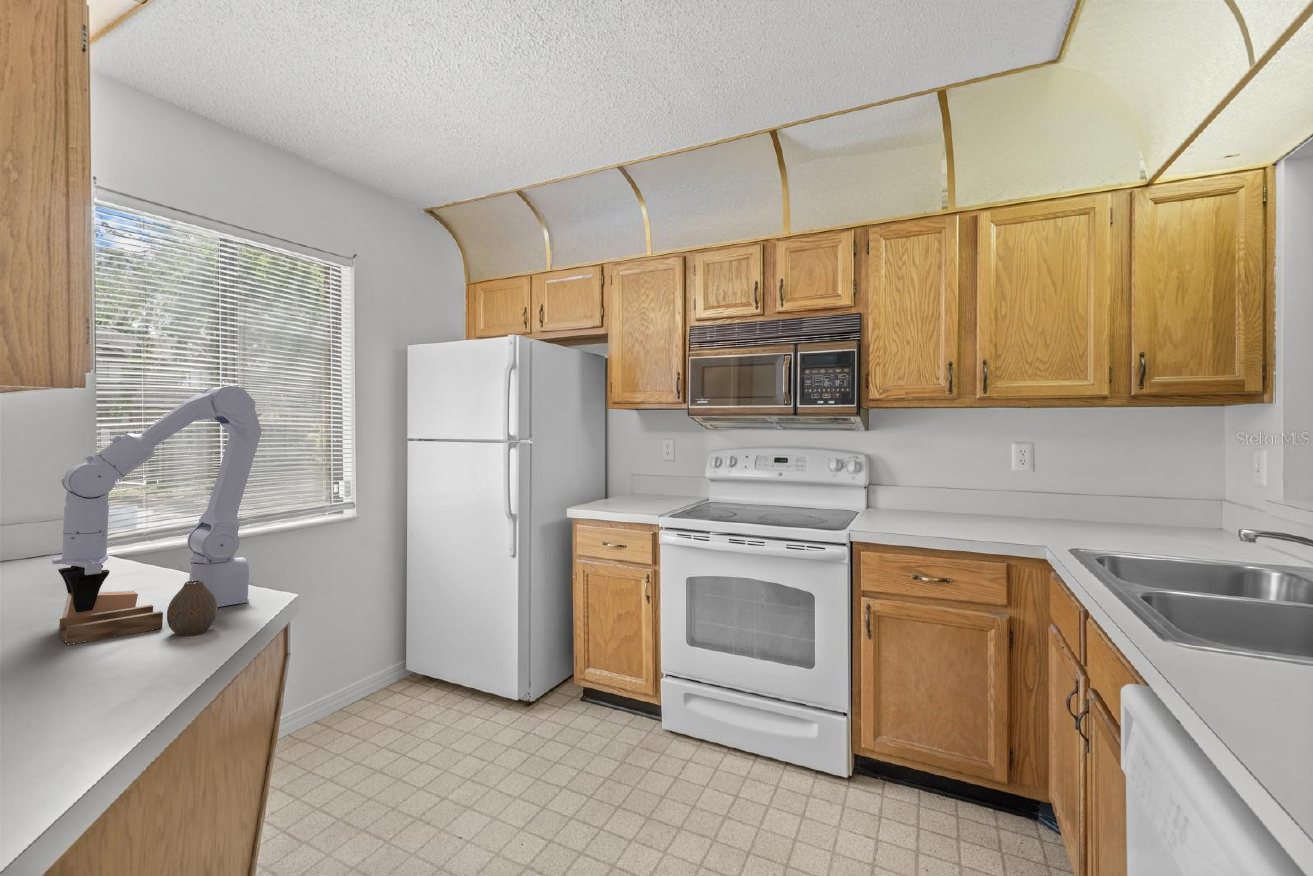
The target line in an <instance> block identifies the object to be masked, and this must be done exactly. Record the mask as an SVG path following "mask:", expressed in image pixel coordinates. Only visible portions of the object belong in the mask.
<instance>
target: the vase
mask: <svg viewBox="0 0 1313 876" xmlns="http://www.w3.org/2000/svg"><path fill="white" fill-rule="evenodd" d="M166 611H167V612H166V621H167V624H168V627H169V629H170V630H171V631H172V632H173V633H174V634H176V635H178V636H193V635H199V634H203V633H204V632H206V631H208V629H209V628H211V626H212V625H213V623H214V621H215V620H216V617H217V614H218V613H217V612H218V607H217V602H216V599H215V597H214V595H213V594H212V593H211V592H210V591H209V590H208V589H207V588H206V587H205V585H204V583H203V581H201V580H192V581H189V580H188V581H185V582H184V584H183V585H182V587H181V589H180V590H179V591H178V592H177V593H176V594H175V595H174V596H173V597H172V599H171V600H170V602H169V605H168V606H167V610H166Z"/></svg>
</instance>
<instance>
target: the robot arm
mask: <svg viewBox="0 0 1313 876" xmlns="http://www.w3.org/2000/svg"><path fill="white" fill-rule="evenodd" d="M208 419H213V420H215V421H216V422H218V423H219V424H220V425H221V426H222V428H223V429H224V430H225V431H226V433H227V434H228V435H229V436H228V440H227V443H226V445H225V446H226V447H225V449H224V453H223V455H222V456H223V457H222V459H221V462H220V466H219V469H218V472H217V476H216V479H215V482H214V486H213V488H212V492H211V495H210V497H209V501H208V504H207V509H206V510H205V512H203V513H202V515H201V516H200V517H199V520H198V523H197V524H196V526H195V528H194V529H193V530H191V532H190V533H189V535H188V537H187V547H188V549H189V550H190V551H191V552H192V553H193V554H192V556H191V558H189V559H190V560H189V579H188V581H192V580H201V581H203V583H204V585H205V587H206V588H207V589H208V590H209V591H210V592H211V593H212V594H213V595H214V597H215V599H216V602H217V608H221V607H227V606H233V605H239V604H243V603H244V604H245V603H249V602H250V599H248V598H249V578H250V570H249V569H250V568H249V563H248V560H247V559H246V557H244V556H243V557H241V556H240V557H235V554H236V553H237V552H238V550H239V548H240V543H241V542H240V539H239V538H240V537H239V528H240V521H239V516H238V513H239V509H240V505H241V503H242V500H243V496H244V493H245V489H246V486H247V482H248V479H249V475H250V472H251V470H252V465H253V463H254V458H255V456H256V453H257V449H258V445H259V441H260V438H261V435H262V428H261V424H260V420H259V417H258V414H257V411H256V401H255V400H254V399H253V398H252V397H251V395H250V394H249V393H248V392H247V390H246V389H244V388H242V387H240V386H237V385H227V386H226V385H224V386H221V387H220V386H211V387H208V388H206V389H204V390H203V391H202V392H201V393H197V394H195V395H192V396H191V397H190V398H187V400H185V401H183V402H182V403H180V404H179V405H178V406H176V407H175V408H173V409H172V410H170V411H169V412H168V413H167V414H165V415H164V416H162V417H161V418H160V419H158V420H156V422H154V423H152V425H150V426H149V427H147V428H146V429H145V430H143V431H142V432H140V433H125V434H123V435H122V436H120V435H115V436H113V438H111V439H110V441H111V442H112V443H110V444H109V445H107V446H106V447H103V448H102V449H101V450H99V451H98V452H96V453H95V454H93V455H92V454H87V455H86V456H85V457H84V460H85V461H86V462H87V463H79V464H76V465H74V466H71V468H69V469H67V471H66V472H65V475H64V476H63V478H61V485H62V487H63V489H65V491H66V495H65V506H64V509H63V527H62V528H63V531H62V547H61V548H62V549H61V557H57V558H56V557H55V558H52V559H51V564H53V565H67V566H70V567H61V568H58V569H57V571H58V573H59V574H60V576H61V577H62V579H63V581H64V584H65V586H66V590H67V592H66V593H67V594H68V593H72V596H73V603H74V608H75V611H76V612H84V611H91V610H93V608H94V605H95V602H96V599H97V596H98V593H99V592H100V590H101V588H102V585H103V583H104V582H105V580H106V579H107V578H108V576H109V574H110V570H109V569H103V568H104V565H103V563H105V562H106V561H108V559H109V555H108V554H107V553H108V535H109V516H110V515H109V513H110V510H109V509H110V505H109V496H110V495H109V492H111V491H112V490H113V489H114V487H115V485H116V481H117V480H123V478H124V477H126V476H128V475H129V474H131V473H132V472H133V471H134V470H136V469H137V468H138V467H141V466H142V465H144V464H145V463H146V462H147V461H149V460H151V458H153V457H154V456H155V455H154V454H155V448H156V447H157V446H158V445H159V444H161V443H163V442H164V441H165V440H167V439H169V438H170V437H171V436H173V435H175V434H176V433H178V432H179V431H181V430H182V429H185V428H186V427H187V426H189V425H190V424H192V423H194V422H196V421H202V420H208Z"/></svg>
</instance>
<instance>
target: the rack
mask: <svg viewBox="0 0 1313 876" xmlns="http://www.w3.org/2000/svg"><path fill="white" fill-rule="evenodd" d="M163 616H164V612H163V611H161V610H160V611H154V605H153V604H149V605H147V604H146V605H143V606H135V607H134V608H127V609H120V610H114V611H107V612H101V613H94V614H87V615H81V616H74V617H68V618H59V623H58V624H59V625H58V626H59V628H58V636H59V637H60V636H61V637H60V638H61V640H62V641H63V640H64V641H66V643H67V644H72V645H74V644H73V643H77V644H80V643H79V642H83V643H85V642H84V641H89V642H93V640H94V641H99V639H100V640H105V639H110V638H109V637H111V638H114V637H113V636H117V637H122V636H127V634H128V635H132V633H133V634H138V633H137V632H139V633H144V632H148V630H150V631H153V630H152V629H156V630H160V629H159V628H162V629H163V624H164V623H163V621H164V619H163V618H164V617H163ZM104 638H105V639H104ZM64 641H63V642H64ZM66 643H65V644H66ZM67 644H66V645H67Z"/></svg>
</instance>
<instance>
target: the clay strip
mask: <svg viewBox="0 0 1313 876" xmlns="http://www.w3.org/2000/svg"><path fill="white" fill-rule="evenodd" d="M138 596H139V593H137V592H136V591H134V590H129V591H127V590H124V591H99V593H98V596H97V599H96V602H95V605H94V608H93V610H91V611H84V612H76V611H75V608H74V603H73V596H72V593H68V592H67V595H66V601H65V604H64V605H65V606H64V608H63V613H62V618H68V617H74V616H81V615H87V614H94V613H101V612H107V611H114V610H120V609H127V608H134V607H137V606H136V605H137V602H138V601H137V600H138Z"/></svg>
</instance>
